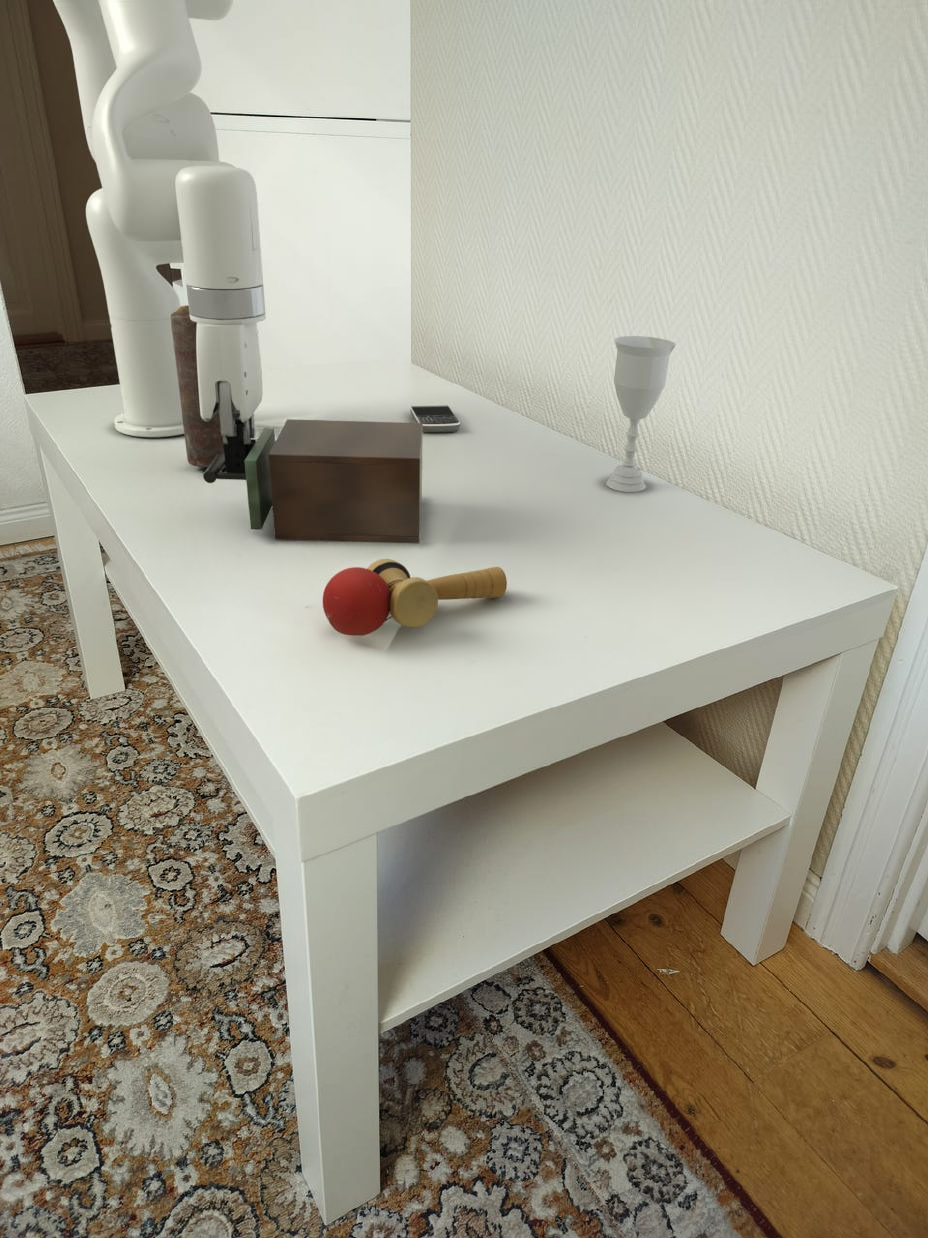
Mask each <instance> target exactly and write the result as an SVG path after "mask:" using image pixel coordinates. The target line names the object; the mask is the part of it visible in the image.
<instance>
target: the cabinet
mask: <svg viewBox="0 0 928 1238" xmlns="http://www.w3.org/2000/svg"><path fill="white" fill-rule="evenodd" d="M423 434H424V432H423V424H422V423H416V422H398V421H397V422H396V421H394V422H393V421H365V420H364V421H363V420H362V421H361V420H327V419H325V420H324V419H323V420H322V419H288V418H287V419H286V421H285V423H284V425H283V427H282V429H280V432H279V434H278V436H277V437H276V439H275V443H274V445H273V447H272V449H271V451H270V453H269V455H268V458H269V471H270V484H271V497H272V508H271V510H272V521H273V522H272V523H273V533H274V534H273V536H274V541H299V542H300V541H301V542H302V541H306V542H308V541H309V542H344V543H345V542H346V543H347V542H348V543H351V542H352V543H393V544H420V537H421V536H420V535H421V521H422V505H423V503H422V502H423Z"/></svg>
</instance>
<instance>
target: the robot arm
mask: <svg viewBox="0 0 928 1238" xmlns="http://www.w3.org/2000/svg"><path fill="white" fill-rule="evenodd" d="M52 2H53V3H54V6H55V9H56V10H57V13H58V15H59V17H60V19H61V22H62V24H63V26H64V29H65V31H66V34H67V37H68V40H69V43H70V48H71V52H72V57H73V58H72V59H73V64H74V65H73V66H74V71H75V78H76V84H77V90H78V96H79V103H80V109H81V115H82V122H83V128H84V133H85V137H86V142H87V146H88V150H89V152H90V155H91V157H92V159H93V160H94V162H95V164H96V169H97V173H98V177H99V181H100V184H101V188H99V189H97V190H95V191H94V192H93V193H92V194H91V195H90V196H89V198H88V199H87V202H86V205H85V218H86V224H87V228H88V233H89V235H90V238H91V241H92V245H93V248H94V251H95V255H96V258H97V261H98V265H99V269H100V273H101V278H102V282H103V283H102V284H103V287H104V292H105V293H104V294H105V300H106V305H107V311H108V316H109V323H110V324H109V325H110V331H111V336H112V343H113V349H114V355H115V356H114V357H115V363H116V368H117V374H118V381H119V386H120V394H121V400H122V405H123V406H122V407H123V412H121V413H119V414H118V415H117V416H116V417H114V420H113V423H114V424H113V425H114V429H115V430H116V431H118V432H119V433H121V434H123V435H127V436H131V437H138V438H166V437H167V438H168V437H176V436H181V435H184V427H183V420H182V410H181V400H180V392H179V384H178V376H177V368H176V359H175V351H174V343H173V335H172V327H171V318H170V317H171V314H172V313H173V312H176V311H177V310H178V308H179V307H181V306H182V304H181V301H180V297H179V295H178V292H177V291H176V290H175V288H174V287H173V286H172V285H171V283H170V282H169V281H168V280H167V279H166V278H165V277H164V276H163V275H161V273H160V272H159V271H158V270H157V266H159V265H166V264H183V267H184V276H185V283H186V296H187V303H188V306H189V313H190V319H191V320H192V321H194V322H197V331H196V352H197V372H198V387H199V401H200V414H201V417H202V419H203V420H204V421H207V422H208V421H210V420H211V419H212V418H213V416H214V415H215V414H216V413H217V411H218V410H219V416H220V423H221V436H222V437H223V445H224V455H225V465H226V467H225V473H246V471H245V459H246V457H247V456H248V454H249V452H250V451H251V449H252V447H253V446H254V444H255V442H256V441H257V439H255V436H256V429H255V412H256V410H258V407H259V406H260V405H261V402H262V400H263V371H262V359H261V349H260V340H259V339H260V338H259V330H258V324H257V323H259V322H262V321H265V320H266V319H267V318H266V315H267V314H266V302H265V301H266V300H265V288H264V276H263V274H264V273H263V262H262V261H263V260H262V249H261V248H262V247H261V233H260V220H259V207H258V205H259V204H258V191H257V184H256V181H255V179H254V177H253V175H252V174H251V173H250V172H249V171H248V170H247V169H244V168H241V167H236V166H235V165H233V164H232V163H228V162H226V161H220V153H219V143H218V138H217V130H216V126H215V121H214V119H213V116H212V114H211V110H210V108H209V106H208V105H207V103H206V102H205V101H204V100H203V98H201V97H200V96H198V95H197V94H195V93H193V92H192V91H193V90H194V89H195V88H196V86H197V85H198V82H199V81H200V78H201V75H202V61H201V56H200V53H199V49H198V46H197V42H196V39H195V35H194V32H193V28H192V25H191V21H190V19H194V20H205V21H220V20H223V19H224V18H226V17H227V16H228V14H229V13H230V11H231V10H232V6H233V3H234V0H52Z"/></svg>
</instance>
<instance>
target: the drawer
mask: <svg viewBox="0 0 928 1238" xmlns="http://www.w3.org/2000/svg"><path fill="white" fill-rule="evenodd" d="M275 441H276V433H275V427H264V428H263V429H262V431H261V432H260V434H259V436H258V437H257V439H256V442H255V444H254V446H253V447H252V449H251V451H250V452H249V454H248V456H247V457H246V459H245V471H246V473H226V472H222V471H223V470H224V468H226V467H225V455H224V454H223V453H219V454H217V455H216V457H215V458H214V460H213V461H212V462H211V464H210V465H209V467H208V468H207V467H206V470H205V471H204V473H202V474H203V475H202V476H203V477H202V478H203V480H204V481H205V482H206V483H208V484H213V483H214V482H216V481H217V480H233V481H235V480H238V481H246V482H245V483H246V491H247V492H246V493H247V503H248V514H249V525H250V526H249V527H250V530H258V531H259V530H262V529H263V528H264V525H265V523H266V521H267V519H268V517H269V514H270V512H271V510H272V497H271V484H270V471H269V458H268V455H269V453H270V451H271V449H272V447H273V445H274V443H275Z"/></svg>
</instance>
